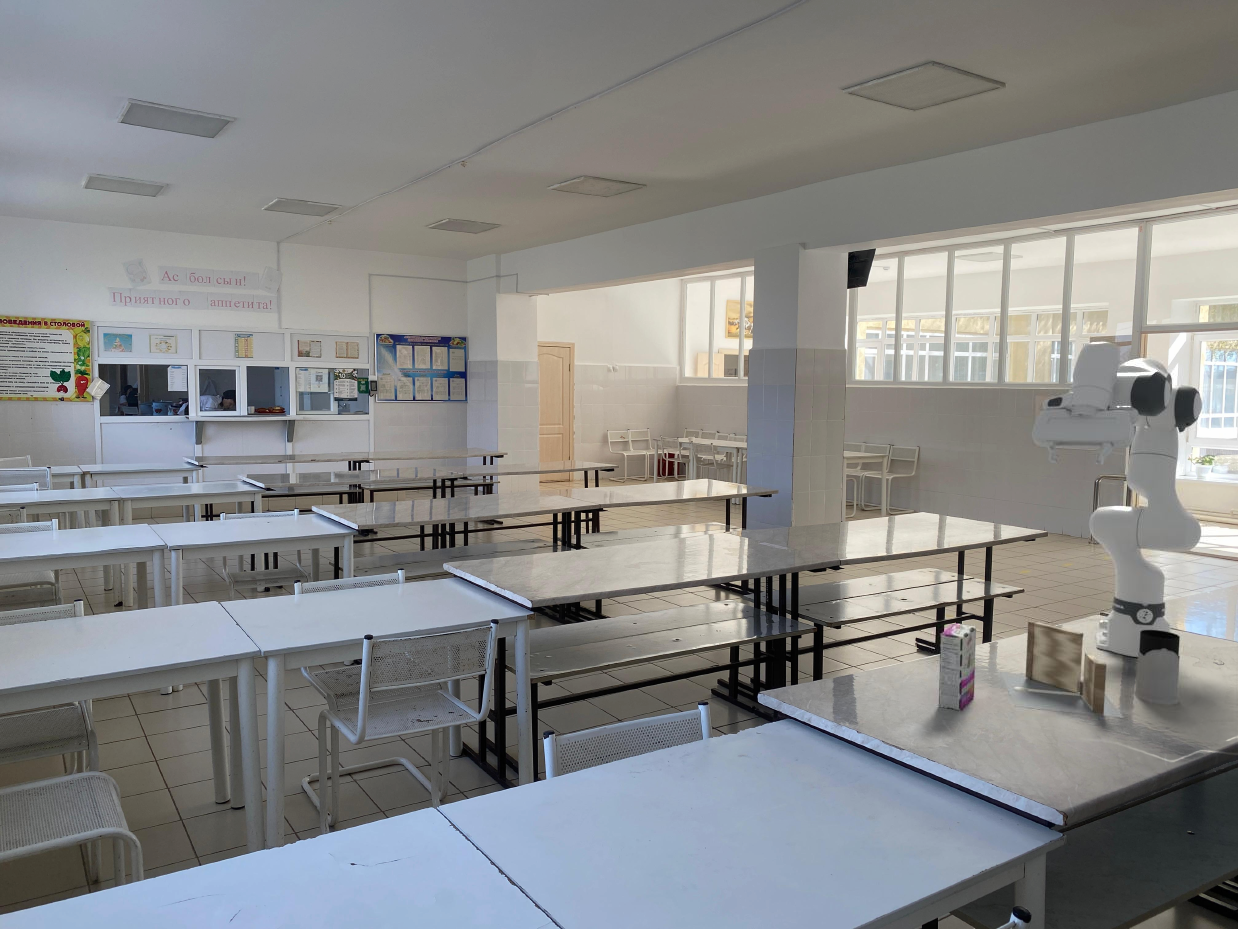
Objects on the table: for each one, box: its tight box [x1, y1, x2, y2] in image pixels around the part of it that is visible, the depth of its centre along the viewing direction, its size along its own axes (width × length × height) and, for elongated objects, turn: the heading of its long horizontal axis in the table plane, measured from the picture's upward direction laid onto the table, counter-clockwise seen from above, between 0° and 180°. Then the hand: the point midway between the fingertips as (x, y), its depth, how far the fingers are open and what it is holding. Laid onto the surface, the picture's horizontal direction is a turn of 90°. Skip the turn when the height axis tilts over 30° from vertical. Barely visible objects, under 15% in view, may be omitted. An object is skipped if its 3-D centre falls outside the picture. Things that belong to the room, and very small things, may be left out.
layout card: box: [999, 671, 1125, 719], centre depth 192 cm, size 25×21×1 cm
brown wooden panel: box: [1025, 620, 1084, 693], centre depth 197 cm, size 12×2×14 cm, turn 30°
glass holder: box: [1133, 630, 1181, 706], centre depth 192 cm, size 9×14×15 cm, turn 161°
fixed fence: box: [1080, 652, 1107, 714], centre depth 185 cm, size 13×2×11 cm, turn 165°
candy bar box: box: [938, 623, 977, 712], centre depth 186 cm, size 11×5×16 cm, turn 143°
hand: (1075, 462), depth 185 cm, fingers open, 8 cm apart
